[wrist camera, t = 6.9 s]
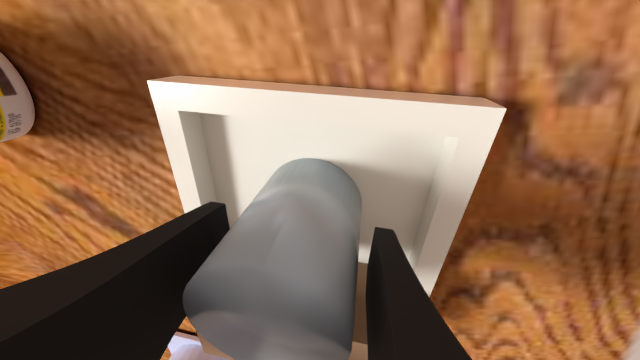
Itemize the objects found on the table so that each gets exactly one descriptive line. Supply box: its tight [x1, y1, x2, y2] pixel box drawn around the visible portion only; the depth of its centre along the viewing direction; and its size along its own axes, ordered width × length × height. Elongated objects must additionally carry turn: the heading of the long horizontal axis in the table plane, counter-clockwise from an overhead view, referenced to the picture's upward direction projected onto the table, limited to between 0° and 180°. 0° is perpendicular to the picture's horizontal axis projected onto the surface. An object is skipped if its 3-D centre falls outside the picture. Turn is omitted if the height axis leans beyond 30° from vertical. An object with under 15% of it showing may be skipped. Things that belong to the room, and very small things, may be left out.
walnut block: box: [347, 262, 368, 360], centre depth 12 cm, size 4×4×4 cm
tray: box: [147, 75, 507, 297], centre depth 12 cm, size 14×12×2 cm
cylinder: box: [183, 158, 362, 360], centre depth 9 cm, size 5×5×6 cm
